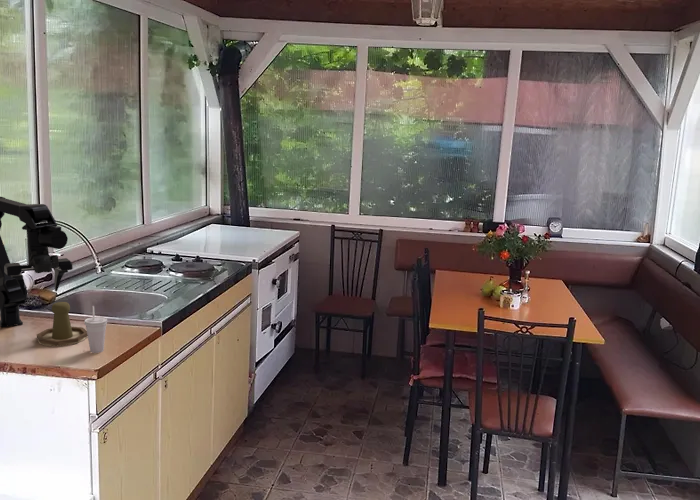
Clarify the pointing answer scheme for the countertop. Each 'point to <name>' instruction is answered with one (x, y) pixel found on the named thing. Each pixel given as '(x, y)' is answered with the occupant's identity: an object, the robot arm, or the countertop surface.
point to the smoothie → (96, 332)
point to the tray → (47, 340)
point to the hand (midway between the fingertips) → (40, 293)
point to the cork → (61, 321)
